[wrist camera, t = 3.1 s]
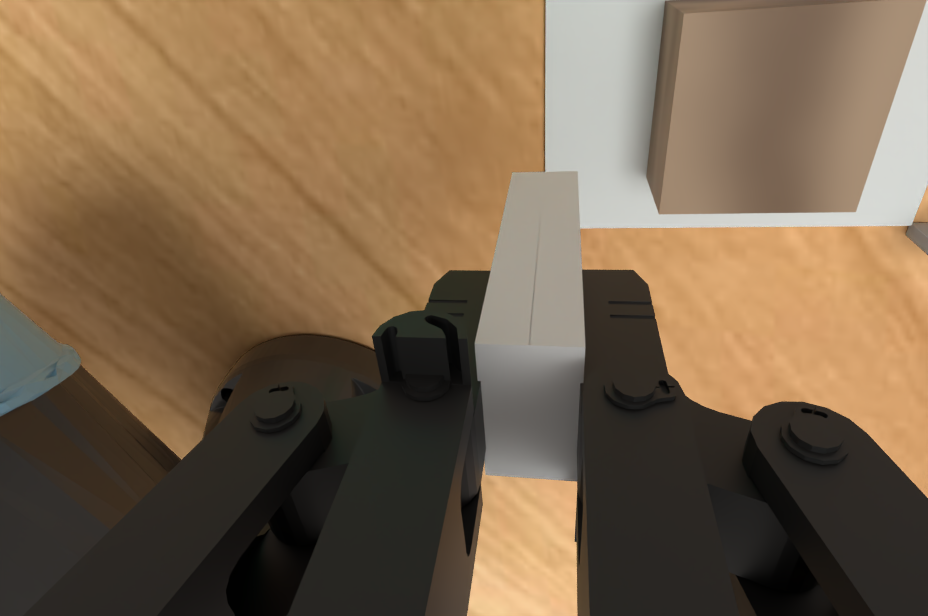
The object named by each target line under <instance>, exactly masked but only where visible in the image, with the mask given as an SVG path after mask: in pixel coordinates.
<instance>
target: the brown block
mask: <svg viewBox="0 0 928 616" xmlns="http://www.w3.org/2000/svg"><path fill="white" fill-rule="evenodd" d="M926 1H927V0H668V1H665V6H664V15H663V24H662V34H661V43H660V52H659V62H658V71H657V81H656V90H655V99H654V109H653V118H652V127H651V137H650V146H649V155H648V165H647V174H646V178H647V181H648V184H649V187H650V190H651V193H652V196H653V199H654V202H655V204H656V207H657V210H658V213H659V214H741V213H829V212H856V210H857V207H858V204H859V201H860V198H861V195H862V192H863V189H864V186H865V183H866V180H867V177H868V174H869V171H870V168H871V165H872V162H873V159H874V156H875V153H876V150H877V147H878V144H879V142H880V139H881V136H882V133H883V130H884V127H885V124H886V121H887V118H888V115H889V112H890V109H891V106H892V103H893V100H894V97H895V94H896V91H897V88H898V85H899V82H900V79H901V76H902V73H903V70H904V67H905V64H906V61H907V58H908V55H909V52H910V49H911V46H912V43H913V40H914V37H915V34H916V31H917V28H918V25H919V22H920V19H921V16H922V13H923V10H924V7H925V4H926Z"/></svg>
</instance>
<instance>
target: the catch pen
mask: <svg viewBox="0 0 928 616" xmlns="http://www.w3.org/2000/svg"><path fill="white" fill-rule="evenodd" d="M906 236H907V237H908V238H909V239H911V240H912V241H913V242H914V243H915V244H916V245H917V246H918V247H920V248H921V249H922V250H923V251H924V252H925V253H926V254H927V255H928V223H912V225H911V226H909V227H908V230H907V232H906Z"/></svg>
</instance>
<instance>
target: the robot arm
mask: <svg viewBox="0 0 928 616" xmlns="http://www.w3.org/2000/svg"><path fill="white" fill-rule="evenodd" d="M372 339H373V344H374V348H375V352H374V351H372V350H370V349H368V348H365V347H363V346H360V345H357V344H354V343H351V342H348V341H344V340H340V339H336V338H330V337H324V336H312V335H298V336H288V337H281V338H277V339H273V340H270V341H267V342H264V343H262V344H260V345H258V346H256V347H254V348H253V349H251V350H249V351H248V352H247V353H245V354H244V355H243V356H242V357H241V358H240V359H239V360H238V361H237V363H236V364H235V365H234V367H233V368H232V369H231V371H230V372H229V373H228V375H227V376H226V377H225V379H224V380H223V381H222V383H221V384H220V386H219V387H218V389H217V391H216V393H215V395H214V398H213V400H212V403H211V407H210V412H209V415H208V419H207V423H206V427H205V431H204V435H203V438H202V441H201V442H200V443H199V444H198V445H197V446H196V447H194V448H193V449H192V450H191V451H190V452H189V453H188V454H187V455H186V456H185V457H184V458H183V459H182V460H181V459H180V458H179V457H178V456H177V455H176V454H175V453H174V452H172V451H171V450H170V449H169V448H168V447H167V446H166V445H165V444H164V443H163V442H162V441H161V440H160V439H159V438H158V437H157V436H155V435H154V434H153V433H152V432H151V431H150V430H149V429H148V428H147V427H146V426H145V425H144V424H143V423H142V422H141V421H139V420H138V419H137V418H136V417H135V416H134V415H133V414H132V413H131V412H130V411H129V410H128V409H127V408H126V407H125V406H124V405H122V404H121V403H120V402H119V401H118V400H117V399H116V398H115V397H114V396H113V395H112V394H111V393H110V392H109V391H108V390H107V389H105V388H104V387H103V386H102V385H101V384H100V383H99V382H98V381H97V380H96V379H95V378H94V377H93V376H92V375H91V374H89V373H88V372H87V371H86V370H85V369H84V368H83V367H82V366H81V365H80V363H81V358H80V356H79V355H78V353H77V352H76V351H75V349H74V348H72V347H71V346H69V345H67V344H62V343H58V342H57V341H56V340H54V339H53V338H52V337H51V336H50V335H48V334H47V333H46V332H45V331H44V330H43V329H41V328H40V327H39V326H38V325H37V324H36V323H34V322H33V321H32V320H31V319H30V318H29V317H27V316H26V315H25V314H24V313H23V312H21V311H20V310H19V309H18V308H17V307H16V306H14V305H13V304H12V303H11V302H10V301H9V300H7V299H6V298H5V297H4V296H3V295H2V294H0V616H467V611H468V604H469V597H470V590H471V583H472V576H473V569H474V561H475V554H476V547H477V540H478V533H479V526H480V519H481V512H482V505H483V502H482V491H481V478H482V472H483V465H484V461H485V473H486V475H495V476H509V477H523V478H537V479H551V480H565V481H577V488H578V489H577V508H576V526H575V542H577V606H578V616H928V498H927V497H926V496H925V495H924V494H923V493H922V492H921V491H920V489H919V488H918V487H917V486H916V485H915V484H914V483H913V482H912V481H911V480H910V479H909V478H908V477H907V476H906V474H905V473H904V472H903V471H902V470H901V469H900V468H899V467H898V466H897V465H896V464H895V463H894V462H893V461H892V460H891V458H890V457H889V456H888V455H887V454H886V453H885V452H884V451H883V450H882V449H881V448H880V447H879V446H878V445H877V443H876V442H875V441H874V440H873V439H872V438H871V437H870V436H869V435H868V434H867V433H866V432H865V431H863V430H862V429H861V428H860V427H858V426H857V425H856V424H855V423H854V422H852V421H851V420H850V419H848V418H846V417H844V416H842V415H840V414H838V413H836V412H834V411H832V410H830V409H828V408H825V407H821V406H817V405H813V404H809V403H805V402H778V403H775V404H771V405H768V406H764V407H763V408H762V409H761V410H760V411H759V412H758V413H757V414H756V415H754V416H753V419H752V421H750V420H746V419H743V418H739V417H735V416H732V415H728V414H724V413H721V412H718V411H715V410H712V409H709V408H706V407H704V406H702V405H700V404H698V403H696V402H694V401H692V400H691V399H689V398H688V397H687V396H685V394H684V392H683V390H682V388H681V387H680V385H679V383H678V381H676V380H675V379H674V378H673V377H672V376H670V375H669V374H668V371H667V367H666V362H665V358H664V353H663V349H662V345H661V340H660V336H659V331H658V327H657V322H656V319H655V314H654V309H653V305H652V300H651V296H650V292H649V287H648V284H647V283H646V282H645V281H644V280H643V279H642V278H641V277H640V276H639V275H638V274H637V273H636V272H635V271H634V270H582V258H581V236H580V213H579V190H578V171H557V172H512V177H511V181H510V186H509V190H508V195H507V199H506V204H505V208H504V213H503V217H502V222H501V226H500V231H499V235H498V240H497V244H496V249H495V253H494V258H493V262H492V267H491V271H457V270H450V271H448V272H447V273H446V274H445V275H444V276H443V277H442V278H441V279H439V280H438V281H437V282H436V283H435V284H434V286H433V289H432V292H431V294H430V297H429V303H427V305H426V308H425V310H423V311H412V312H408V313H405V314H402V315H399V316H395V317H393V318H392V319H390V320H388V321H387V322H385V323H384V324H382V325H380V327H379V328H378V329H377V330H376V332H375V333H374V334H373V335H372Z"/></svg>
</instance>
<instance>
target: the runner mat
mask: <svg viewBox="0 0 928 616" xmlns="http://www.w3.org/2000/svg"><path fill="white" fill-rule="evenodd" d="M665 1H668V0H546V58H545V172H557V171H578V190H579V213H580V228H684V227H813V226H911V225H912V223H913V220H914V218H915V215H916V213H917V210H918V208H919V205H920V203H921V200H922V198H923V195H924V193H925V190H926V187H927V185H928V0H927V1H926V4H925V7H924V10H923V13H922V16H921V19H920V22H919V25H918V28H917V31H916V34H915V37H914V40H913V43H912V46H911V49H910V52H909V55H908V58H907V61H906V64H905V67H904V70H903V73H902V76H901V79H900V82H899V85H898V88H897V91H896V94H895V97H894V100H893V103H892V106H891V109H890V112H889V115H888V118H887V121H886V124H885V127H884V130H883V133H882V136H881V139H880V142H879V144H878V147H877V150H876V153H875V156H874V159H873V162H872V165H871V168H870V171H869V174H868V177H867V180H866V183H865V186H864V189H863V192H862V195H861V198H860V201H859V204H858V207H857V210H856V212H829V213H741V214H659V213H658V210H657V207H656V204H655V202H654V199H653V196H652V193H651V190H650V187H649V184H648V181H647V178H646V174H647V165H648V155H649V146H650V137H651V127H652V118H653V109H654V99H655V90H656V81H657V71H658V62H659V52H660V43H661V34H662V24H663V15H664V6H665Z"/></svg>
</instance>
